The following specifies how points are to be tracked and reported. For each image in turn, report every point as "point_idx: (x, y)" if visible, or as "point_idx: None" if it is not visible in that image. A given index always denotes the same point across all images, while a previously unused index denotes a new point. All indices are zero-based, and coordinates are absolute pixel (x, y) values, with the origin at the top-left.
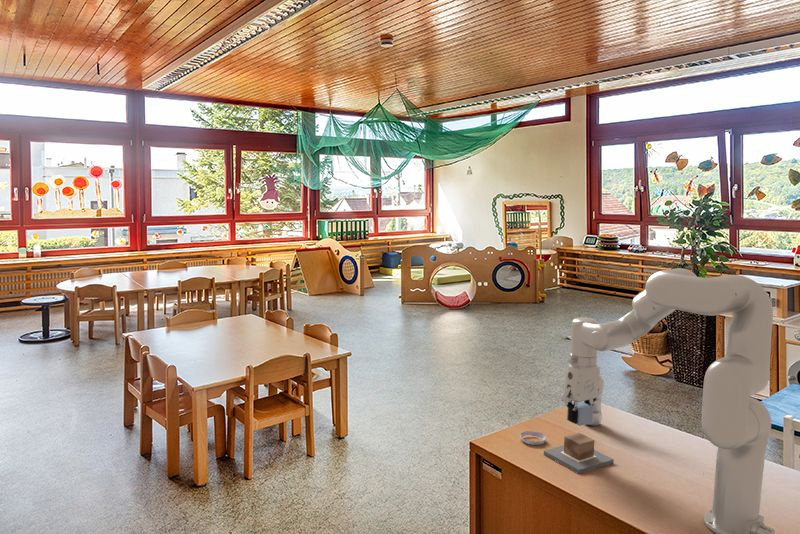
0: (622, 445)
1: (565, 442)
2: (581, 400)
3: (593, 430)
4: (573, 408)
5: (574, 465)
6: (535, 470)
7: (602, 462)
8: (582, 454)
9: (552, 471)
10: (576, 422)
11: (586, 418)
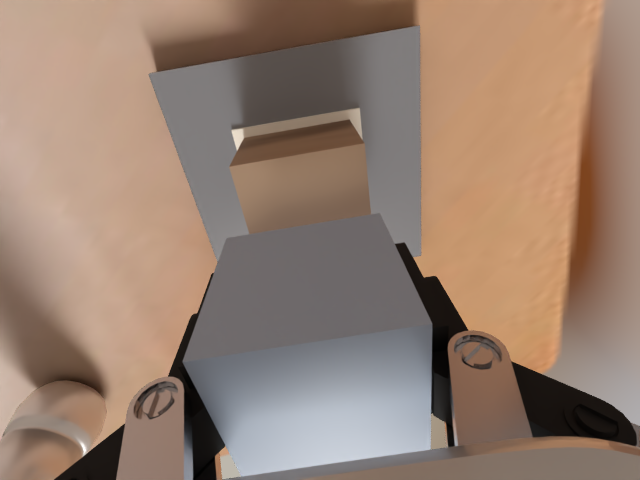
0: (14, 224)
1: None
2: (527, 462)
3: (91, 357)
4: (509, 357)
5: (403, 83)
6: (560, 136)
7: (235, 61)
8: (328, 130)
9: (504, 101)
10: (401, 246)
11: (301, 254)
